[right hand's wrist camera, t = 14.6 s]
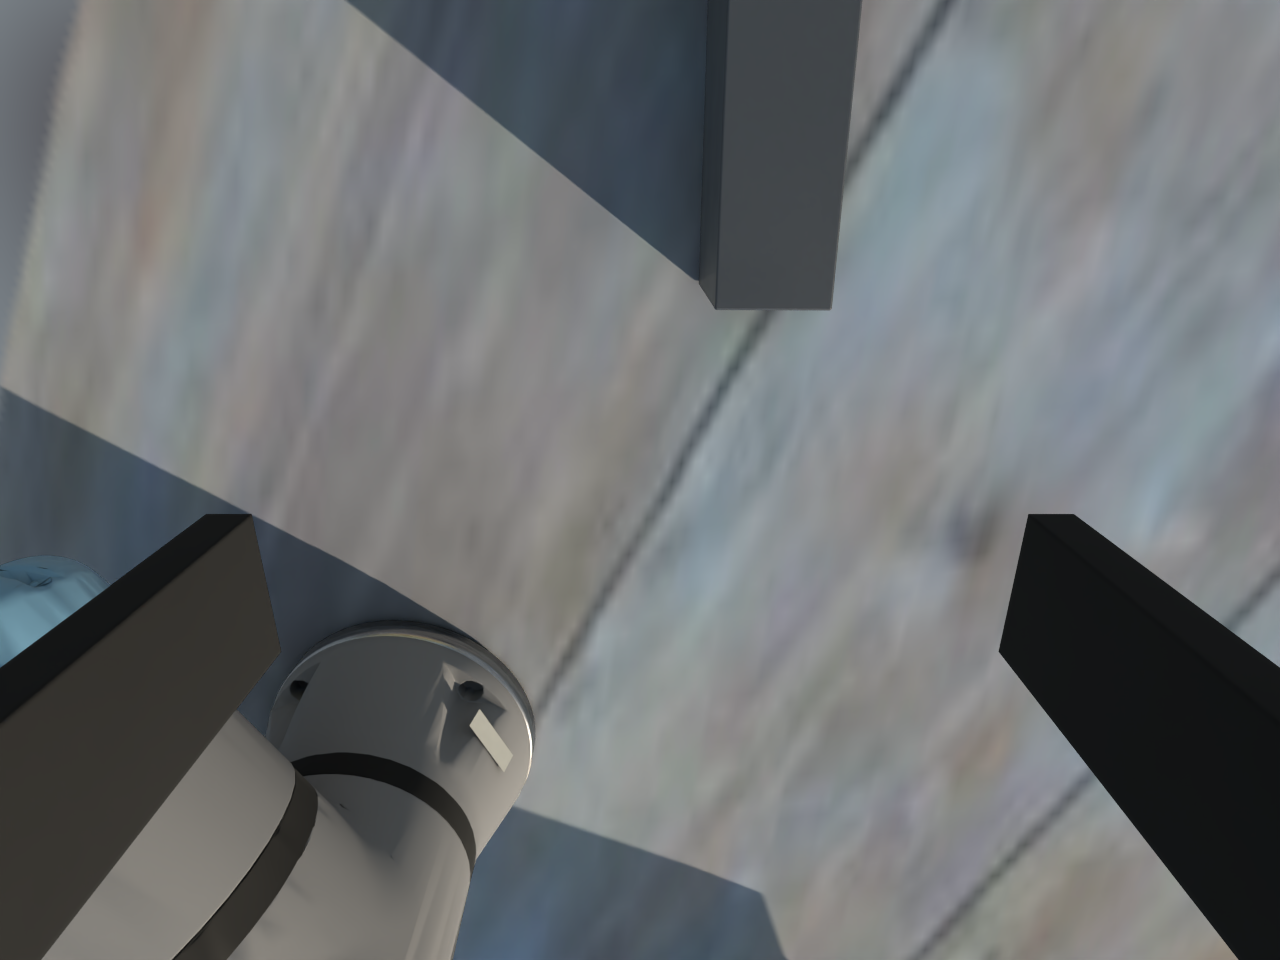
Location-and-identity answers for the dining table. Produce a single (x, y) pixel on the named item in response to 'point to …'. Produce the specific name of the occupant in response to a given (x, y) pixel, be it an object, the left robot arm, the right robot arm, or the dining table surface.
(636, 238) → the dining table surface
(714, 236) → the beam
